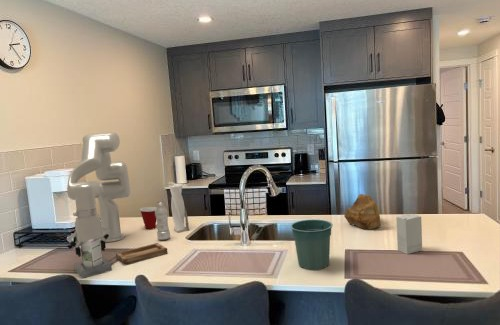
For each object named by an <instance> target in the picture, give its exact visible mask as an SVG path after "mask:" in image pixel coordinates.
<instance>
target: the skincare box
mask: <svg viewBox="0 0 500 325" xmlns="http://www.w3.org/2000/svg"><path fill="white" fill-rule="evenodd" d="M422 226H423V225H422V216H420V215H418V214H413V213H409V214H408V213H407V214H404V215H400V216H399V215H398V216H396V240H397V243H396V244H397V245H396V246H397V250H398V251H399V252H402V253H404V254H406V255H411V254H413V253H417V252H421V251H423V234H422V233H423V229H422Z"/></svg>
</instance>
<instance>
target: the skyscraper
mask: <svg viewBox="0 0 500 325" xmlns="http://www.w3.org/2000/svg"><path fill="white" fill-rule="evenodd" d="M170 184H173V185H170ZM168 187H169V190H170V194H171V199H170V200H171V201H170V203H171V204H170V205H171V208H170V209H171V215H172V220H173V223H174V228H173V230H174V232H176V233H183V232H188V231H190V226H189V220H188V219H189V218H188V212H187V208H185V202H184V198H183V195H182V191H183V184H182V183H175V182H168Z"/></svg>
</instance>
